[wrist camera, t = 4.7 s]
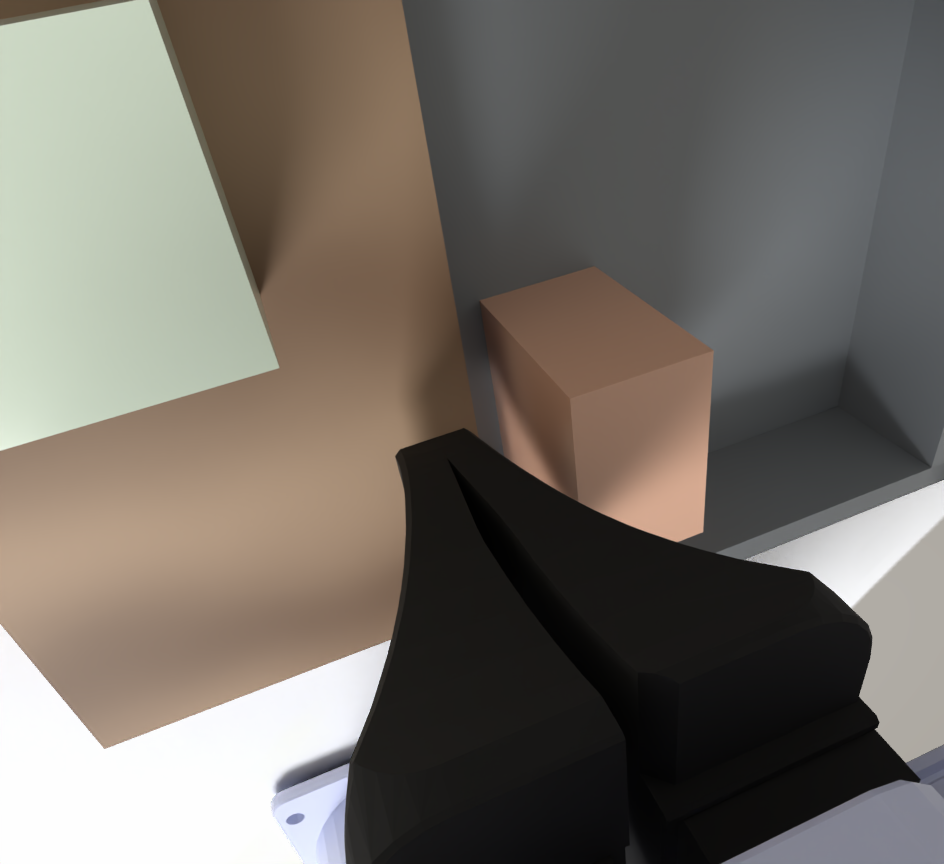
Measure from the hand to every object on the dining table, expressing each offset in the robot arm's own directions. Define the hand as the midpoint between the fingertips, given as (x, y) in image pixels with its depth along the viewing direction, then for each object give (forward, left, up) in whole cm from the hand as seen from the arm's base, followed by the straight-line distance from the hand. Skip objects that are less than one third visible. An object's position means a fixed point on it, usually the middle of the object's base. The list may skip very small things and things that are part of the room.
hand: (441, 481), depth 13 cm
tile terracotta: (0, -2, 0) cm, 2 cm away
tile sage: (+6, +4, -1) cm, 7 cm away
